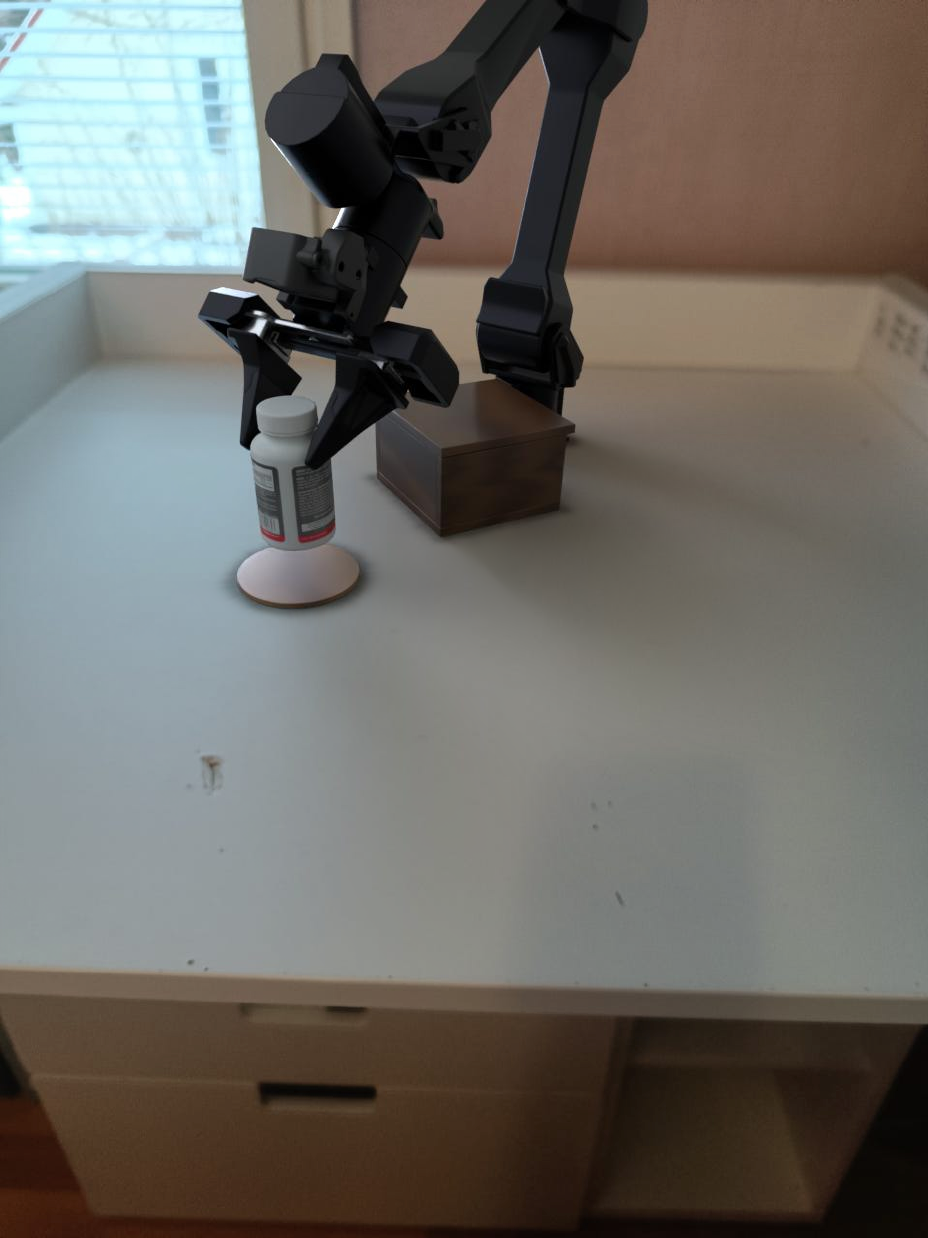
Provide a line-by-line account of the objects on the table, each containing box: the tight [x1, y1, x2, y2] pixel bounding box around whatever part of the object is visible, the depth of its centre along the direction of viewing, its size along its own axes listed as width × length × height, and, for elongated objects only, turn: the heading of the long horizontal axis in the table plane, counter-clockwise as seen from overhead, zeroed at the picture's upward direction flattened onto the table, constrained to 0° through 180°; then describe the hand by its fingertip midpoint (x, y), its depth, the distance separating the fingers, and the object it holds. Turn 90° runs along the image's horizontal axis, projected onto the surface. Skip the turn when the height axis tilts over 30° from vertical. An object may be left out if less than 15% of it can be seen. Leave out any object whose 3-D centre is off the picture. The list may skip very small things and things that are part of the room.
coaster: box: [236, 543, 361, 609], centre depth 65 cm, size 9×9×1 cm
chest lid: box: [387, 378, 576, 458], centre depth 74 cm, size 12×13×1 cm
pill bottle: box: [249, 395, 337, 551], centre depth 61 cm, size 5×5×10 cm
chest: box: [374, 415, 568, 538], centre depth 76 cm, size 12×13×7 cm
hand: (276, 457), depth 59 cm, fingers closed on pill bottle, 5 cm apart
